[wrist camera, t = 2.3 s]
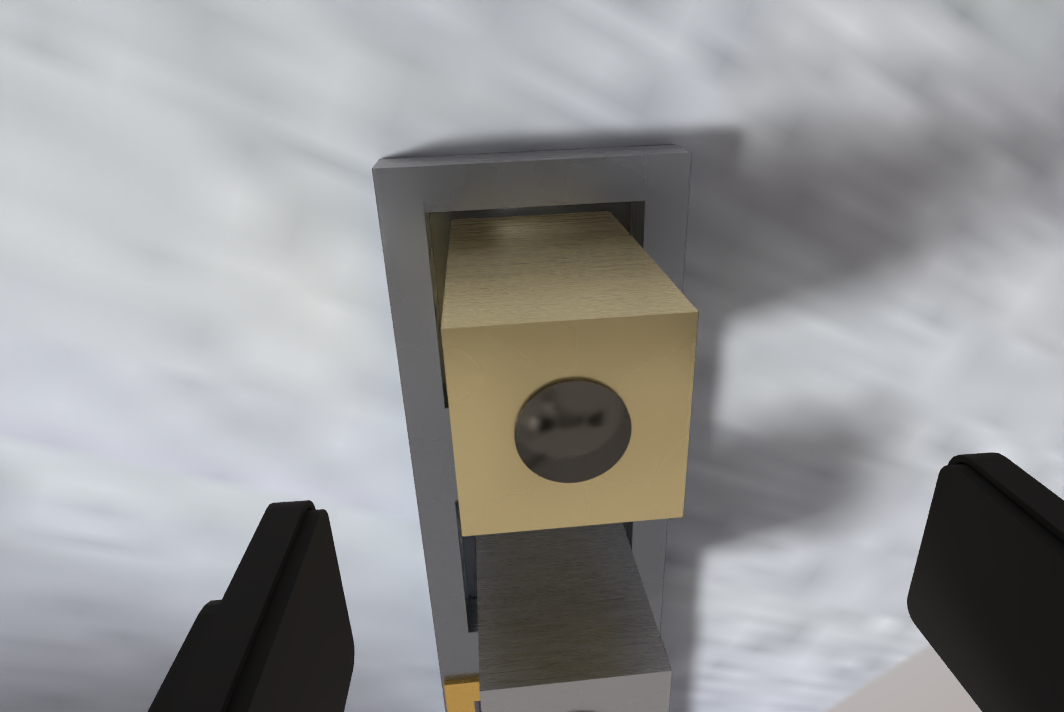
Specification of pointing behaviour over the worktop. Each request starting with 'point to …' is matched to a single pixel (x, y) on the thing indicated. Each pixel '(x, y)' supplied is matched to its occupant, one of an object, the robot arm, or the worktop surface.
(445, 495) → the grey block holder rack
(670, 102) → the worktop surface
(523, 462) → the wooden block with knob
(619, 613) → the grey block with knob
